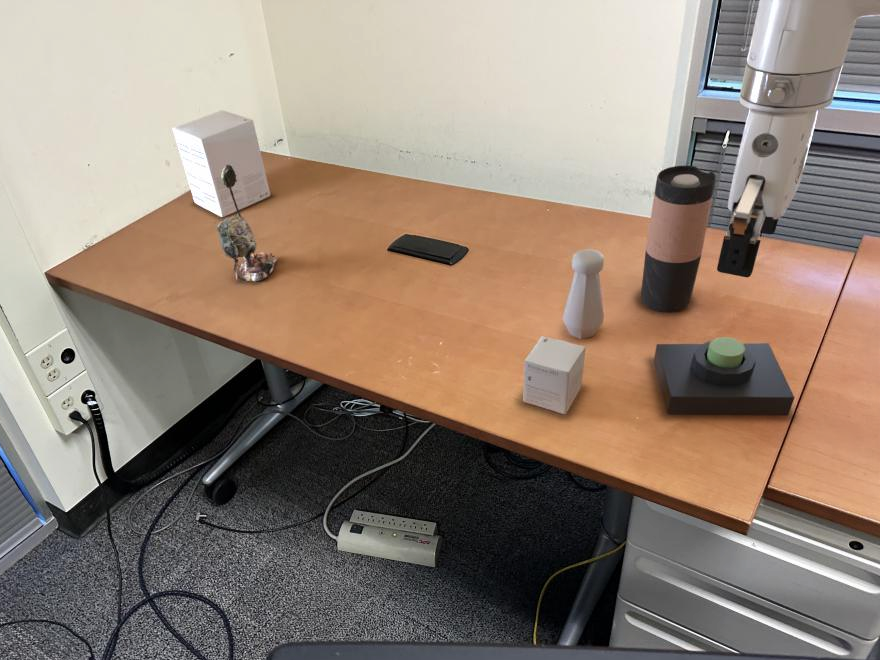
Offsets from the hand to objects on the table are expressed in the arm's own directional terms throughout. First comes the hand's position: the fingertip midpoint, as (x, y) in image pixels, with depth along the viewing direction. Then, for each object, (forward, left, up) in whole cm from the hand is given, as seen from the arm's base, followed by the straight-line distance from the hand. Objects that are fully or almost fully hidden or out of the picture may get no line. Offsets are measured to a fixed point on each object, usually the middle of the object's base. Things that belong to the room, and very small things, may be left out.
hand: (746, 251), depth 73 cm
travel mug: (+1, -26, -23) cm, 34 cm away
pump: (-2, -4, -18) cm, 19 cm away
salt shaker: (+14, -18, -23) cm, 32 cm away
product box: (+19, -3, -23) cm, 30 cm away
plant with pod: (+72, -38, -23) cm, 84 cm away
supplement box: (+87, -71, -23) cm, 114 cm away
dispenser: (-2, -5, -23) cm, 23 cm away
